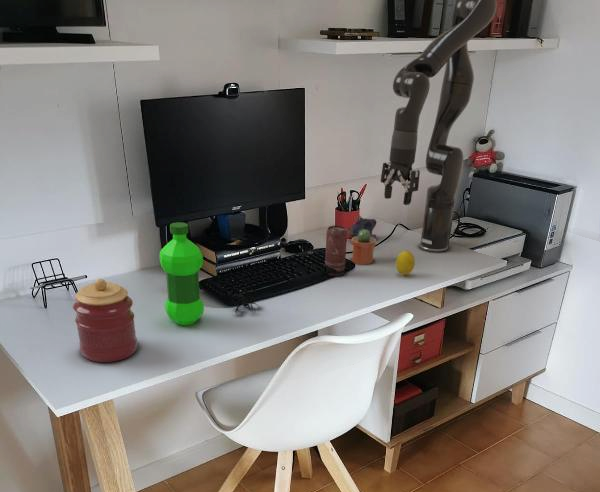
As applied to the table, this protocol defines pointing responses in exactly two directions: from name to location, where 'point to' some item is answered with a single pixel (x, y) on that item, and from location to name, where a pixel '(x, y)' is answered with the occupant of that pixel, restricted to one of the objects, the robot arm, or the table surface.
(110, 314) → the kitchen canister
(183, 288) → the plastic bottle
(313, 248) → the table surface
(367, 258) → the plant pot
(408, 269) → the lemon
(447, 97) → the robot arm
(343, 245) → the can
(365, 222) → the frog
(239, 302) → the creature
